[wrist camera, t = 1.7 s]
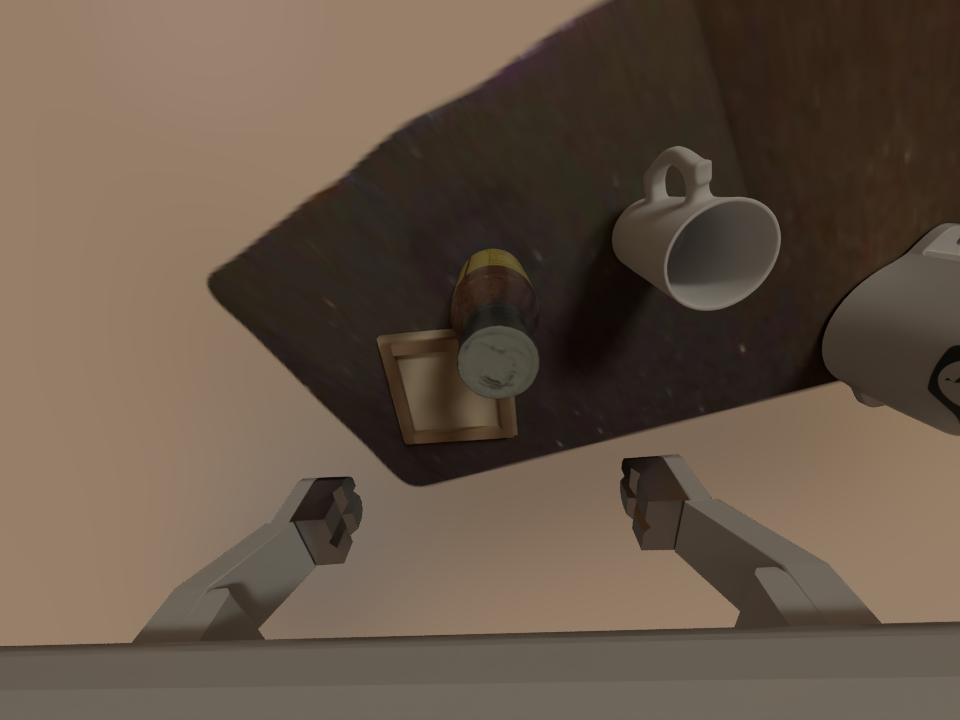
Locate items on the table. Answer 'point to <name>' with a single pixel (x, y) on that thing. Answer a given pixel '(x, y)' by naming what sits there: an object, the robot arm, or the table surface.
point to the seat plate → (439, 392)
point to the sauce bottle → (495, 325)
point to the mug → (696, 237)
